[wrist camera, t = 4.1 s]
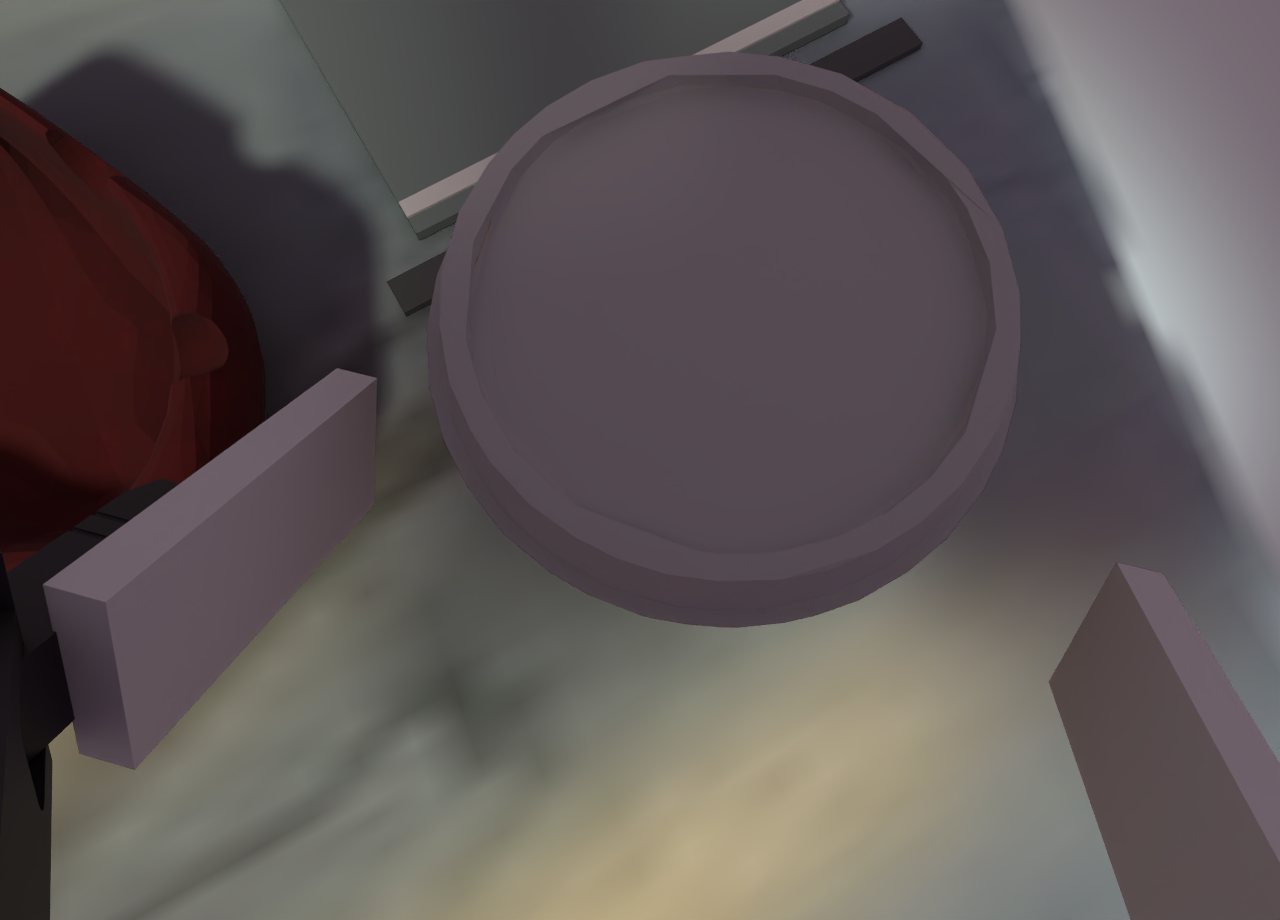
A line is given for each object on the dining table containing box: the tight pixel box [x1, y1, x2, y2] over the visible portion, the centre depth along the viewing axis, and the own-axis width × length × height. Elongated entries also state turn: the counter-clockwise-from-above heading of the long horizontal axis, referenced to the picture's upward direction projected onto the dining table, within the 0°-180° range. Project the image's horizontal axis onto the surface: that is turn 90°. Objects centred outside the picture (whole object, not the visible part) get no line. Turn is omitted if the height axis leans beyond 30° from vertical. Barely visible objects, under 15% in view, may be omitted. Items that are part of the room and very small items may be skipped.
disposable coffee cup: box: [427, 52, 1021, 628], centre depth 18 cm, size 10×10×12 cm
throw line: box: [387, 18, 922, 316], centre depth 27 cm, size 1×19×1 cm, turn 121°
